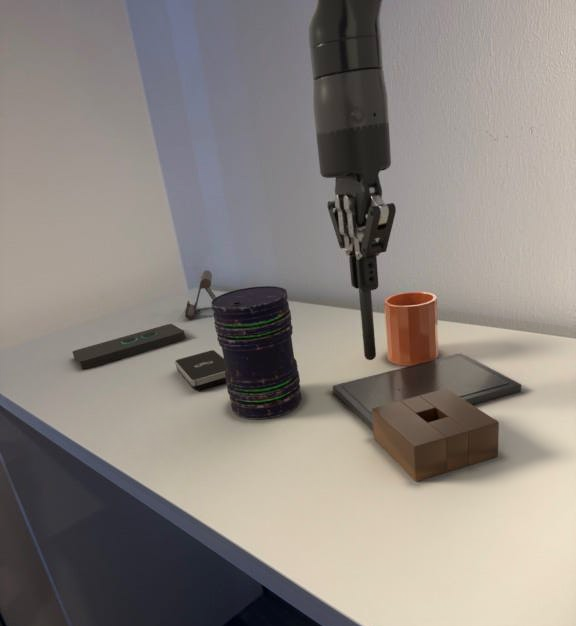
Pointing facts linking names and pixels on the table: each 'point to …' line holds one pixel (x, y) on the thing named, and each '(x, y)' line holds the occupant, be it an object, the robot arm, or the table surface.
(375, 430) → the pen stand
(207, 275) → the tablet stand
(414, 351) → the pen cup
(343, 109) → the robot arm
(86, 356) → the smart home device
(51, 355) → the table surface
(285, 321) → the storage jar
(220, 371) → the external hard drive
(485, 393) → the tablet
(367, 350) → the stylus
